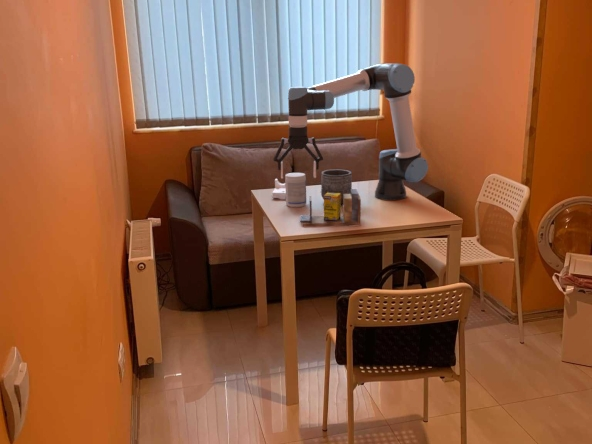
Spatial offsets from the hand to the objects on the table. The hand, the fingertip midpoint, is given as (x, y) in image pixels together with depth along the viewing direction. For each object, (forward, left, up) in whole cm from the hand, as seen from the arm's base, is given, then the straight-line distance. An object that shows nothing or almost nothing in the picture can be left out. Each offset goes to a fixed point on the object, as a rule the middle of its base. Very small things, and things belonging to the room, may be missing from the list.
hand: (298, 177), depth 244 cm
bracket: (+9, -46, -20) cm, 51 cm away
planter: (-17, -30, -20) cm, 40 cm away
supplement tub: (+2, -28, -20) cm, 35 cm away
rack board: (-13, 0, -20) cm, 24 cm away
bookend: (-3, 0, -18) cm, 18 cm away
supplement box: (-14, 0, -19) cm, 23 cm away
